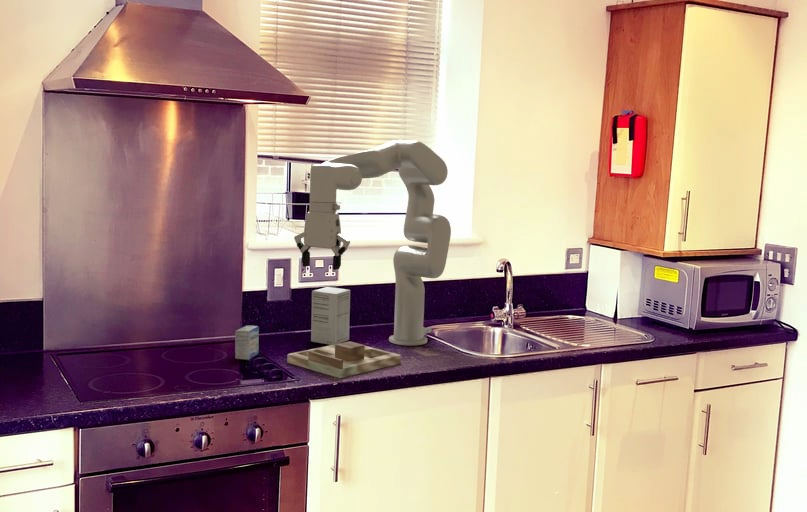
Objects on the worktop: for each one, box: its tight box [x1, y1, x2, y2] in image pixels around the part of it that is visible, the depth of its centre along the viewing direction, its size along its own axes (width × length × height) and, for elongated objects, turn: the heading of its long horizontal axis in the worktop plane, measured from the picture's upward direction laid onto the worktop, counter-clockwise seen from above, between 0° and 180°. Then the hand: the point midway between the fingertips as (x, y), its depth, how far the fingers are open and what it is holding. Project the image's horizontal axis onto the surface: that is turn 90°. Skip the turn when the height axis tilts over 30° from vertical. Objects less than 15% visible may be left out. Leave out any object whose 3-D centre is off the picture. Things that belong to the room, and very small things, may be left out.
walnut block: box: [335, 340, 366, 362], centre depth 255 cm, size 6×6×4 cm
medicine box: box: [234, 325, 260, 361], centre depth 262 cm, size 8×4×9 cm, turn 168°
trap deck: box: [286, 343, 402, 379], centre depth 259 cm, size 25×22×5 cm
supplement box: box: [310, 286, 351, 346], centre depth 285 cm, size 10×9×17 cm
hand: (321, 267), depth 253 cm, fingers open, 9 cm apart
